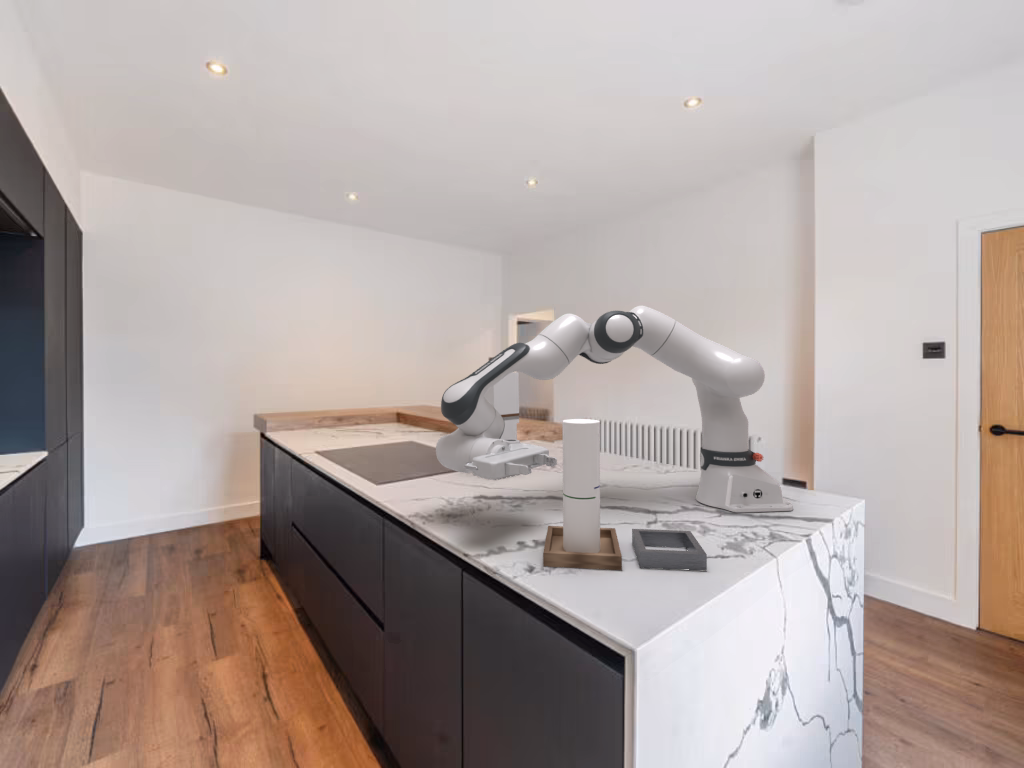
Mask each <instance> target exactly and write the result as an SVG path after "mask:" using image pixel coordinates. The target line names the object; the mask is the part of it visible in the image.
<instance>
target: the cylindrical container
mask: <svg viewBox="0 0 1024 768" xmlns="http://www.w3.org/2000/svg"><path fill="white" fill-rule="evenodd" d="M600 424H601V421H600V420H597V419H589V418H573V419H572V418H569V419H563V420H562V523H563V524H562V526H563V548H564V550H565V551H566V552H585V553H598V552H599V551H600V528H601V449H600V448H601V447H600V446H601V440H600V438H601V436H600V435H601V425H600Z"/></svg>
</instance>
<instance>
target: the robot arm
mask: <svg viewBox="0 0 1024 768" xmlns="http://www.w3.org/2000/svg"><path fill="white" fill-rule="evenodd" d="M632 347H633V348H638V349H639V350H641V351H643V352H644V353H646V354H647V355H649V356H650V357H652V358H654V359H656V360H657V361H659V362H661V363H663V364H664V365H666V366H667V367H669V368H671V369H672V370H673V371H676V372H677V373H680V374H683V375H684V376H687V377H689V378H691V381H692V383H693V385H694V387H695V390H696V396H697V400H698V405H699V408H700V415H701V440H702V441H701V447H700V451H699V465H700V466H699V467H700V469H701V471H700V478H699V479H700V480H699V484H698V488H697V492H696V495H695V500H696V501H697V502H699V503H701V504H703V505H706V506H710V507H713V508H718V509H722V510H726V511H730V512H733V513H758V512H759V513H760V512H761V513H763V512H764V513H765V512H788V511H789V512H790V511H793V510H794V506H793V503H792V502H791V501H790V500H788V499H787V498H785V497H783V492H782V489H781V486H780V482H779V481H778V480H777V479H776V478H774V476H772V475H771V474H769V473H768V472H767V471H765V470H764V469H763V468H762V467H760V466H759V465H757V464H756V463H759V462H760V463H761V462H763V460H764V455H763V454H761V453H759V452H754V451H753V450H751V449H749V418H748V417H747V415H746V414H745V412H744V410H743V407H742V402H741V399H740V398H744V397H748V396H751V395H754V394H756V393H757V392H758V391H759V390H760V389H762V386H763V385H764V382H765V378H766V377H765V375H766V374H765V370H764V367H763V366H762V364H761V363H760V362H759V361H758V360H756V359H755V358H753V357H750V356H748V355H744V354H743V353H740V352H738V351H736V350H734V349H732V348H730V347H728V346H726V345H724V344H722V343H719V342H716V341H714V340H712V339H710V338H708V337H705V336H703V335H701V334H700V333H697V332H696V331H694V330H692V329H691V328H689V327H688V326H686V325H684V324H683V323H681V322H679V321H678V320H676V319H675V318H673V317H671V316H670V315H667V314H665V313H663V312H662V311H659V310H658V309H657V310H656V309H655V308H652V307H649V306H646V305H637V306H635V307H633V308H631V309H630V310H629V311H623V310H611V311H607V312H605V313H603V314H601V316H599V317H598V318H597V319H596V320H594V321H593V322H592V323H591V322H590V323H589V322H586V321H585V320H584V319H583V318H582V317H580V316H578V315H576V314H574V313H565V314H562V315H561V316H559V317H558V318H556V319H554V320H553V321H552V322H551V323H550V324H548V325H547V326H546V327H545V328H544V329H543V330H541V331H540V332H539V333H538V334H537V335H536V336H535V337H534V338H533V339H532V340H530V341H528V342H526V343H524V342H517V343H514V344H511V345H509V346H508V347H506V348H505V349H504V350H502V351H501V352H499V353H498V354H496V355H495V356H494V357H492V358H491V359H489V360H488V361H487V362H486V363H484V364H483V365H481V366H480V367H479V368H477V369H476V370H474V371H473V372H472V373H470V374H469V375H467V376H466V377H464V378H462V379H461V380H459V381H457V382H455V383H452V385H450V386H448V388H446V389H445V391H444V392H443V395H442V397H441V401H440V411H441V414H442V416H443V417H445V418H446V420H448V421H449V422H450V423H452V424H453V425H455V426H456V429H455V430H454V431H452V432H451V433H449V434H446V435H442V436H441V437H439V439H438V440H437V442H436V445H435V454H436V459H437V460H438V462H439V463H440V464H441V465H442V467H444V468H447V469H449V470H453V471H454V472H455V471H456V472H459V473H463V474H471V473H472V474H473V476H476V477H478V478H482V479H486V480H493V481H494V480H495V481H497V480H496V479H498V480H501V479H500V478H503V477H506V476H509V475H515V474H520V475H523V476H527V475H529V474H530V475H531V473H532V469H535V468H538V467H542V466H545V465H546V466H547V467H555V466H557V464H558V458H557V457H555V456H550V450H549V449H548V448H547V447H545V446H541V445H537V444H531V443H523V442H521V440H519V439H517V440H502V439H500V438H501V436H502V434H503V431H504V427H505V422H504V419H503V418H502V416H501V415H500V414H499V413H498V411H497V410H496V409H495V408H494V407H493V406H492V405H491V404H490V403H489V402H488V401H487V399H486V398H485V397H484V394H485V392H486V391H487V390H488V389H490V388H491V387H492V386H494V385H495V384H496V383H498V382H499V381H500V380H501V379H503V378H504V377H505V376H507V375H508V374H510V373H512V372H519V373H523V374H526V376H529V377H531V378H533V379H536V380H540V381H548V380H553V379H554V378H557V377H558V376H559V375H560V374H561V373H562V372H563V371H564V370H565V369H567V367H568V366H569V365H570V364H571V363H572V362H573V361H575V359H576V358H577V357H578V356H581V357H583V358H584V359H586V360H588V361H589V362H591V363H593V364H598V365H604V364H605V365H606V364H608V363H611V362H612V361H614V360H616V359H618V358H620V357H621V356H623V355H624V354H625V352H627V351H628V350H630V349H631V348H632ZM503 479H504V478H503Z"/></svg>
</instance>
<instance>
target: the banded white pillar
mask: <svg viewBox="0 0 1024 768" xmlns="http://www.w3.org/2000/svg"><path fill="white" fill-rule="evenodd" d="M519 375H520V372H512V373H510V374H508V375H507V376H505V377H504V378H503V379H501V380H500V381H499V382H498V383H496V384H495V385H494V386H492V387H491V388H490V389H488V390H487V391H486V392H485V394H484V397H485V398H486V399H487V401H488V402H489V403H490V404H491V405H492V406H493V407H494V408H495V409H496V410H497V411H498V413H499V414H500V415H501V416H502V418H503V419H504V422H505V427H504V431H503V434H502V436H501V438H500V439H502V440H518V430H517V429H518V428H517V427H518V426H517V425H518V424H520V382H519V381H520V380H519V379H520V377H519ZM515 475H517V476H521V474H515ZM515 475H509V476H506V477H507V478H511V477H510V476H512V477H516V476H515ZM506 477H503V479H506ZM499 480H502V479H501V478H500V479H499Z"/></svg>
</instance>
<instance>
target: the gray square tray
mask: <svg viewBox="0 0 1024 768" xmlns="http://www.w3.org/2000/svg"><path fill="white" fill-rule="evenodd" d="M631 544H632V547H633V550H635V551H634V554H635V553H636V554H635V555H636V556H637V557H636V556H635V557H636V560H637V563H638V567H639V568H640V569H650V568H663V569H662V570H670V569H689V570H688V571H690V570H707V571H708V567H707V566H708V563H707V561H708V560H707V559H708V554H707V552H705V550H704V548H703V547H702V546H701V545H700V543H699V541H698V540H697V539H696V537H695V535H694V534H693V533H692V531H691V530H673V529H672V530H670V529H649V528H648V529H646V528H645V529H643V528H632V529H631ZM656 546H661V547H662V546H663V548H679V547H686V548H685V550H676V549H675V550H673V549H670V550H669V549H652V548H651V549H648V548H646V547H656ZM665 546H666V547H665ZM687 550H688V551H687Z"/></svg>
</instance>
